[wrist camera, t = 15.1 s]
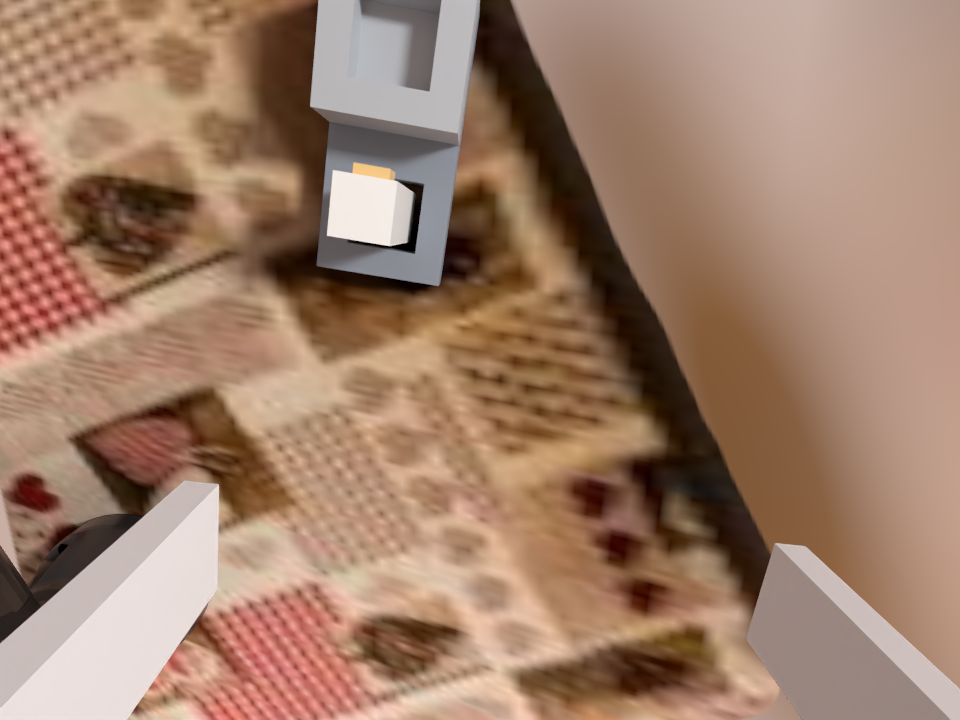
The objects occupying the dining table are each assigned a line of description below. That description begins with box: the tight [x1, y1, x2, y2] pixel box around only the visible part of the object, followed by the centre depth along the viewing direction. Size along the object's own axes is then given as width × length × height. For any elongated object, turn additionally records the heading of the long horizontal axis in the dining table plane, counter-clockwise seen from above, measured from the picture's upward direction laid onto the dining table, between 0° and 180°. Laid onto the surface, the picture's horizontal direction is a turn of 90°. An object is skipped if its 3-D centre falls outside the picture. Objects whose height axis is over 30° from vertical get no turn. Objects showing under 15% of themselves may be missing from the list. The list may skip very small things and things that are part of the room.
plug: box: [327, 162, 416, 246], centre depth 38 cm, size 4×5×12 cm
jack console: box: [310, 0, 480, 286], centre depth 39 cm, size 10×21×8 cm, turn 171°
